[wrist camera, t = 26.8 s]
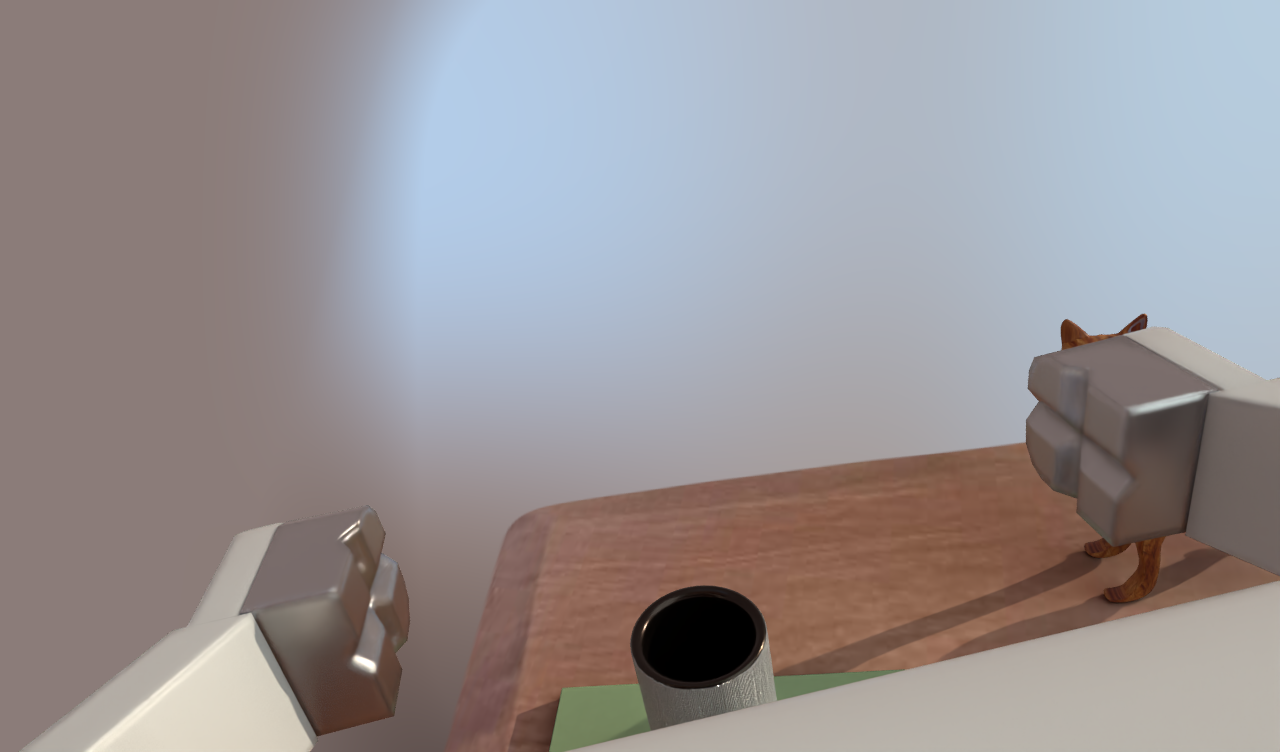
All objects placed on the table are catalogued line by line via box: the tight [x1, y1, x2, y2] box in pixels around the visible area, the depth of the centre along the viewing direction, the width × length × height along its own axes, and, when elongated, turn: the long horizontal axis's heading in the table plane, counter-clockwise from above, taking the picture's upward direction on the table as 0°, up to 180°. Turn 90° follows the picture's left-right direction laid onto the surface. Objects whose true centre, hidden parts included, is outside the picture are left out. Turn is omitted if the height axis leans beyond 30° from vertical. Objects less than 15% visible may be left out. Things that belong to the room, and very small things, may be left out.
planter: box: [630, 586, 777, 731], centre depth 29 cm, size 4×4×10 cm
